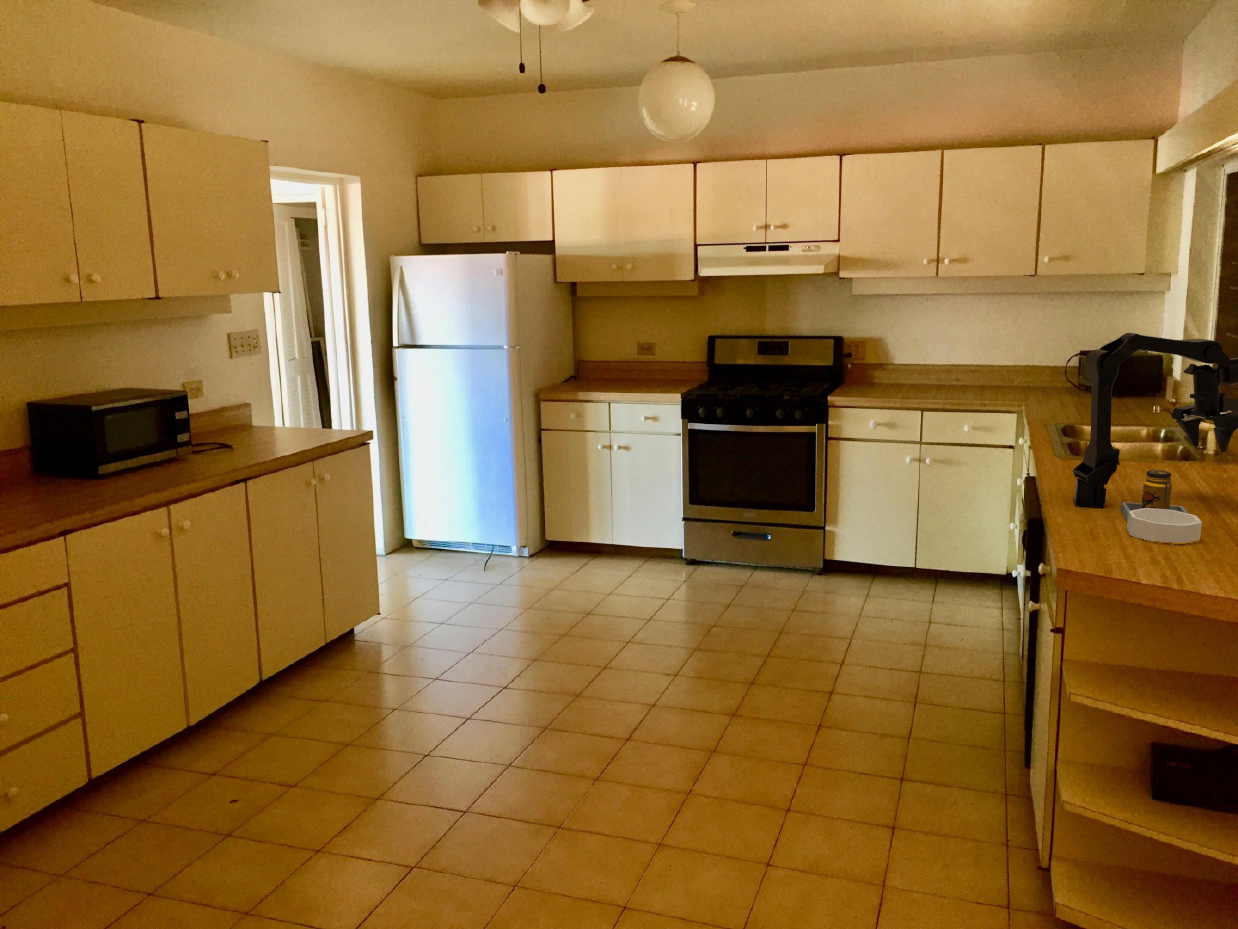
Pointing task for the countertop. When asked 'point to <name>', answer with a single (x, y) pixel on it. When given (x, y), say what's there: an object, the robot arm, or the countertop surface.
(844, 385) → the countertop surface
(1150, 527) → the bowl
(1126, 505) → the open square frame
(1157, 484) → the condiment
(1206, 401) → the robot arm
